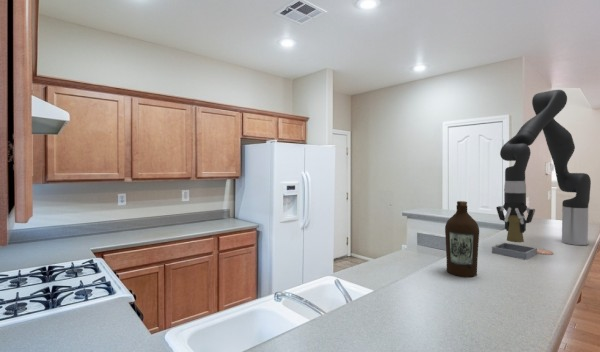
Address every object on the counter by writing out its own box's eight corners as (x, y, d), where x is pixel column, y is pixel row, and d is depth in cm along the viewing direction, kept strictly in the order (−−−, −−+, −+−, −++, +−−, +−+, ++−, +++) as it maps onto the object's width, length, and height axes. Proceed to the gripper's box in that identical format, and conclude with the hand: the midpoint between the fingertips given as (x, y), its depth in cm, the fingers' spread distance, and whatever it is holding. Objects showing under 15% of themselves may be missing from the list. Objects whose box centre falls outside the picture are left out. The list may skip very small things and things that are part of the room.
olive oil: (446, 266, 117) (446, 199, 116) (478, 270, 111) (479, 200, 111) (443, 274, 107) (443, 202, 107) (479, 280, 102) (479, 204, 101)
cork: (518, 238, 135) (518, 213, 134) (527, 242, 129) (527, 215, 128) (503, 238, 135) (503, 213, 135) (511, 242, 129) (511, 216, 129)
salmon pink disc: (535, 249, 138) (535, 247, 138) (555, 252, 132) (555, 251, 132) (530, 252, 134) (530, 250, 134) (550, 255, 128) (550, 254, 128)
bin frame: (504, 248, 141) (504, 242, 141) (537, 254, 131) (537, 248, 131) (492, 252, 133) (492, 247, 133) (526, 259, 123) (526, 253, 123)
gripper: (538, 191, 128) (538, 233, 128) (499, 190, 139) (500, 228, 140) (532, 193, 123) (532, 236, 124) (492, 191, 135) (492, 230, 135)
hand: (515, 231), depth 132 cm, fingers closed on cork, 4 cm apart
